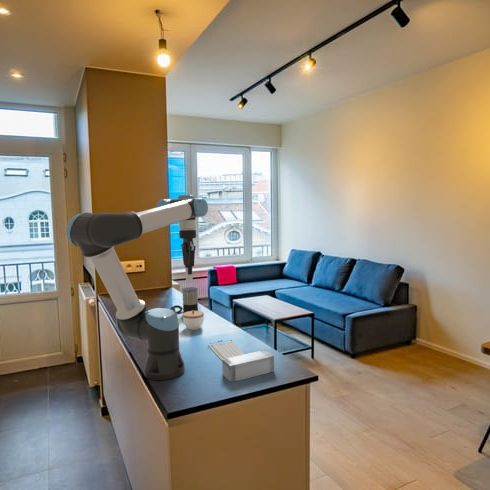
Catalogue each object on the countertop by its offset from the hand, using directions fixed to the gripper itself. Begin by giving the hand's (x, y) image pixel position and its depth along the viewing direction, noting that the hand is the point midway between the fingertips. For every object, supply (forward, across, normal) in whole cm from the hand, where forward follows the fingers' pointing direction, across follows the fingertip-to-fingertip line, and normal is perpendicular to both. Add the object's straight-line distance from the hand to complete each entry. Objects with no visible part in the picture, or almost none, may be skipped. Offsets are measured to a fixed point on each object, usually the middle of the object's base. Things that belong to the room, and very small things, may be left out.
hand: (189, 281), depth 175 cm
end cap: (+28, -43, -7) cm, 52 cm away
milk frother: (+29, +49, -13) cm, 58 cm away
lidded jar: (+29, +19, -8) cm, 35 cm away
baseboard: (+29, -26, -8) cm, 40 cm away
